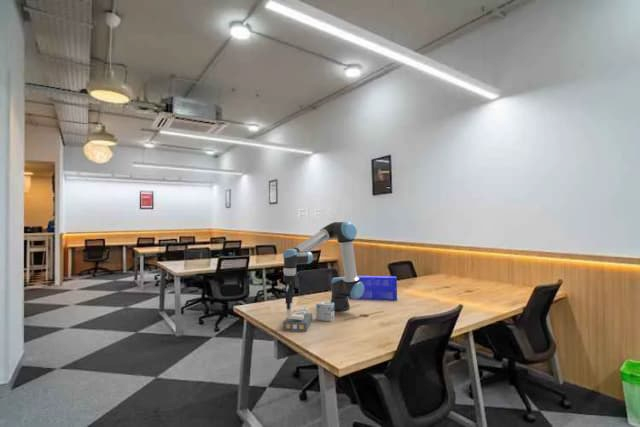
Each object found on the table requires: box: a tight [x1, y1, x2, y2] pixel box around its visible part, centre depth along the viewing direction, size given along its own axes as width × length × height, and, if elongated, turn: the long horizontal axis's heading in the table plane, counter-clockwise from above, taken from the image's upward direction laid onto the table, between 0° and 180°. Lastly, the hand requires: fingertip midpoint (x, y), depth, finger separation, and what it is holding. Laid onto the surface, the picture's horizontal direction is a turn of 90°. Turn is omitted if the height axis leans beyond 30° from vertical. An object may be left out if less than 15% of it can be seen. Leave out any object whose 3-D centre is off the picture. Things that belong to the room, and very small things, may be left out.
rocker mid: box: [291, 310, 307, 315], centre depth 203 cm, size 9×4×2 cm, turn 82°
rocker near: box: [287, 314, 304, 320], centre depth 197 cm, size 9×4×2 cm, turn 82°
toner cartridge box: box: [348, 275, 398, 301], centre depth 273 cm, size 39×8×18 cm, turn 79°
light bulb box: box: [315, 301, 335, 322], centre depth 216 cm, size 11×7×11 cm, turn 71°
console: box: [282, 312, 313, 333], centre depth 203 cm, size 14×20×6 cm
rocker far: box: [292, 306, 309, 313], centre depth 210 cm, size 9×4×2 cm, turn 82°
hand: (288, 314), depth 197 cm, fingers closed
